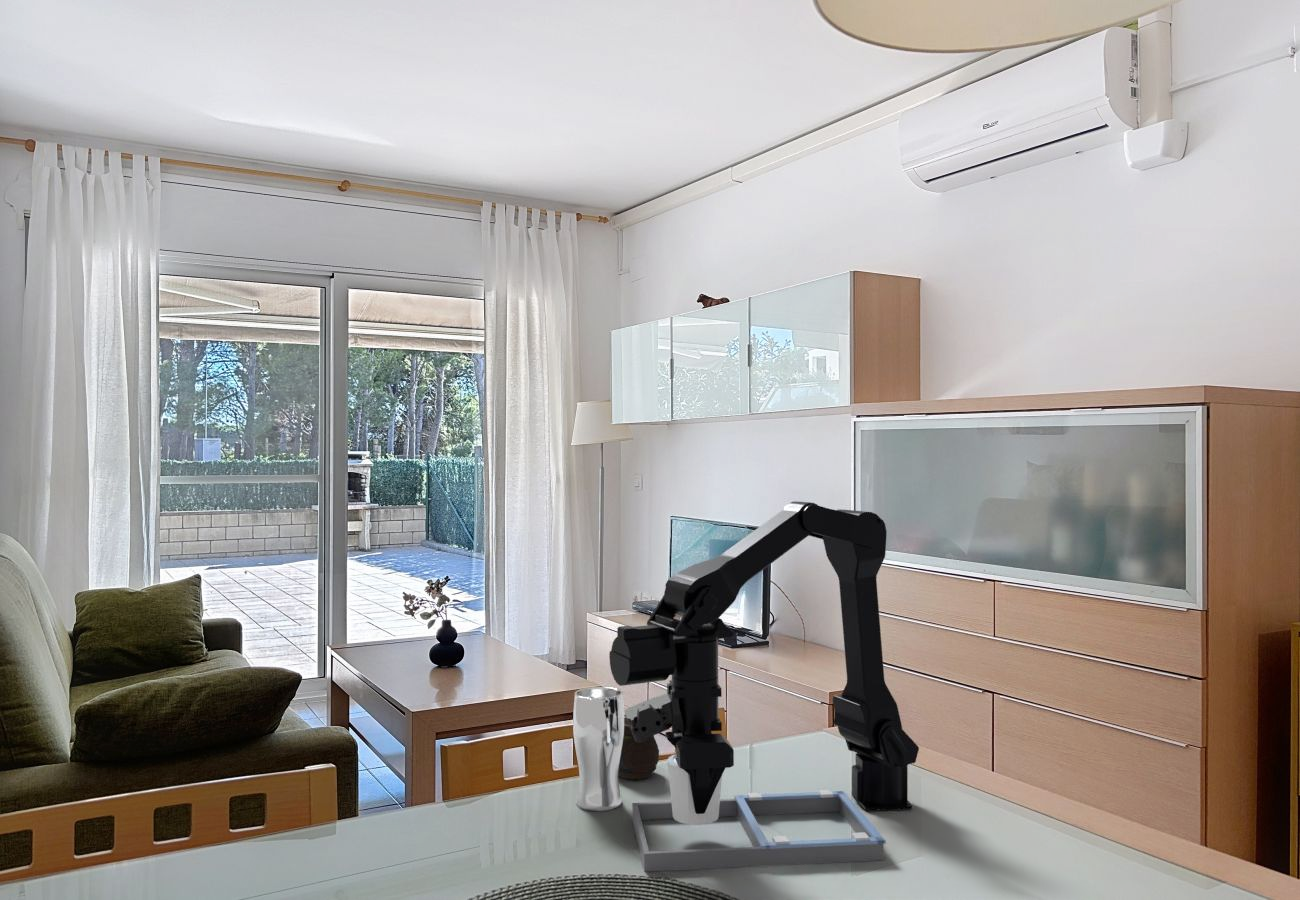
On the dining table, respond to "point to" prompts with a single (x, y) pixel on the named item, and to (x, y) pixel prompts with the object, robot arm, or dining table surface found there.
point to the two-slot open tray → (764, 853)
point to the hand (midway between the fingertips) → (695, 803)
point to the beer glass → (598, 746)
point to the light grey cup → (689, 797)
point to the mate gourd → (637, 756)
